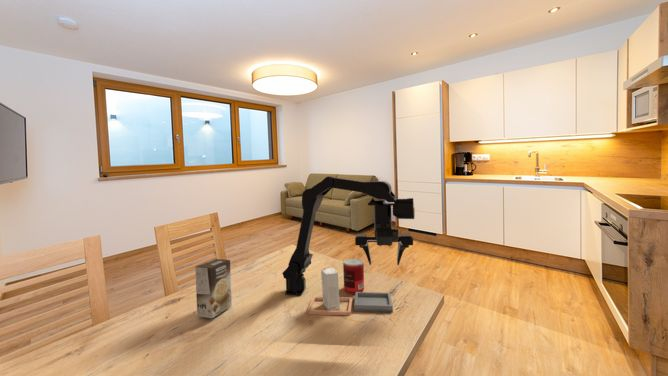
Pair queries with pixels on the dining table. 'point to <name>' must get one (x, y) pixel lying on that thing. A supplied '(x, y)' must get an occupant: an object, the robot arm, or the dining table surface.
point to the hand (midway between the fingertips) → (384, 264)
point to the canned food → (353, 275)
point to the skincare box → (330, 289)
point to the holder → (330, 312)
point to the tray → (373, 302)
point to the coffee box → (213, 287)
